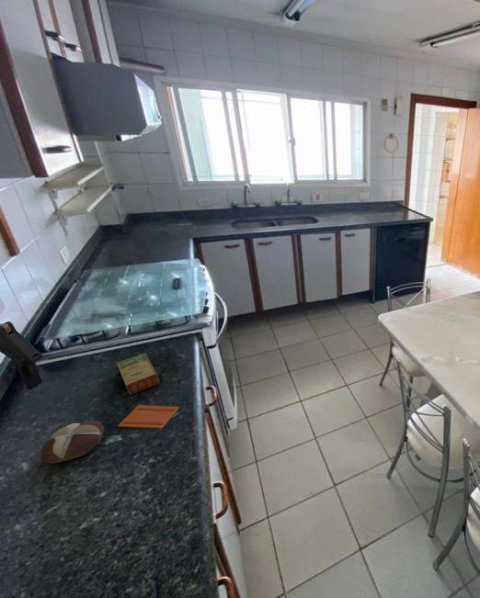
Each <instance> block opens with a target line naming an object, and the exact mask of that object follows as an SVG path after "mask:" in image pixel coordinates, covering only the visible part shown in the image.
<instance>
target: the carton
mask: <svg viewBox="0 0 480 598" xmlns="http://www.w3.org/2000/svg"><path fill="white" fill-rule="evenodd" d="M116 366H117V368H118V372H119V373H120V377H121V378H122V381H123V383H124V385H125V388H126V390H127V392H128V394H129V396H131V395H134V394H137V393H139V392H142V391H145V390H147V389H149V388H153V387H154V386H157V385H159V384H160V383H161V381H160V379H159V375H158V372H157V371H156V369H155V367H154V365H152V363H151V360H150V359H149V357H148V355H147V353H146V352H143V353H140V354H137V355H135V356H132V357H129V358H125V359H123V360H120V361H117V362H116Z"/></svg>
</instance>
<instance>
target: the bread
mask: <svg viewBox="0 0 480 598" xmlns="http://www.w3.org/2000/svg"><path fill="white" fill-rule="evenodd" d="M104 431H105V426H104V424H103V423H101V422H100V421H98V420H86V421H83V422H81V423H79V422H74V423H69V424H65V425H64V426H62V427H61V428H58V429H57V430H55V431H54V432H53V433H52V435H51V436H50V438H49V439H48V440H46V441H45V442H44V443H43V445H42V447H41V451H40V457H41V460H42V461H44V462H45V463H47V464H51V465H52V464H59V463H63V462H67V461H71V460H75V459H77V458H80V457H84V456H85V455H87V454H88V453H89V452H90V451H92V450H93V449H95V447H96V446H97V445H98V444H99V443H100V441H101V438H102V436H103V435H104Z"/></svg>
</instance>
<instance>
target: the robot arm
mask: <svg viewBox="0 0 480 598" xmlns="http://www.w3.org/2000/svg"><path fill="white" fill-rule="evenodd" d="M0 353H1V354H3V355H4V356H6V357H7V358H8V359H10V360H12V361H13V362H15V363H16V364H18V365H16V366H15V367H16V369H17V371H18V373H19V375H20V377H21V379H22V381H23V383H24V385H25V387H26V389H27V390H29V391H30V390H31V391H32V390H33V389H34V388H36V387H37V386H39V385H41V384H42V383H43V380H42V378H41V376H40V374H39V372H40V370H39V367H38V366H37V363H36V362H37V361H39V360H41V359H42V358H43V357H44V356H43V354H42V353H41V352H40V351H39V350H38V349H37V348H35V346H34V345H33V344H31V342H29V340H27V339H26V338H25V336H23V335H22V334H21V333H20V332H19V331H18V330H17V329H16V327H15V326H14V324H13V323H12V322H11V321H6V322H3V323H0Z"/></svg>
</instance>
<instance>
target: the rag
mask: <svg viewBox="0 0 480 598" xmlns="http://www.w3.org/2000/svg"><path fill="white" fill-rule="evenodd" d="M178 410H179V406H167V405H165V406H163V405H144V404H143V405H142V404H141V405H139V404H138V405H137V406H136V407H135V408H133V410H132V411H131V412H130V413H129V414H128V415H127V416H126V417H125V418H124V419H123V420H122V421H121V422H120V423H119V424H118V425H117V427H118V428H133V429H137V428H138V429H164V427H165V426H166V425H167V424H168V423H169V421H170V420H171V419H172V417H173V416H174V415H175V414H176V412H177V411H178Z"/></svg>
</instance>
